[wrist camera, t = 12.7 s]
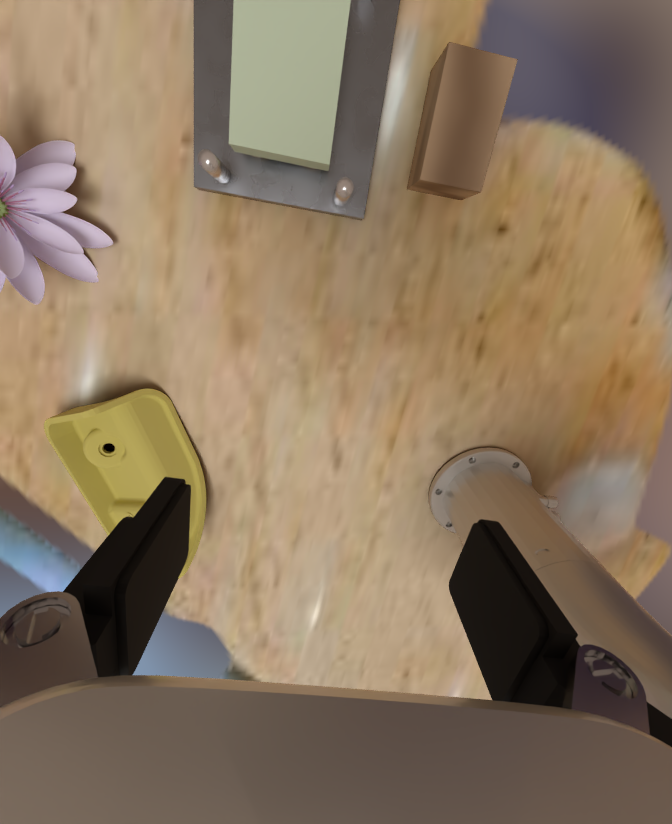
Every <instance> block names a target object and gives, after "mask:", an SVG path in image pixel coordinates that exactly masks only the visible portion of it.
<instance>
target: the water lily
mask: <svg viewBox="0 0 672 824" xmlns="http://www.w3.org/2000/svg"><path fill="white" fill-rule="evenodd" d="M74 146H75V145H74V144H73V143H72V142H69V141H62V140H55V141H49V142H45V143H42V144H40V145H37V146H35V147H34V148H32V149H30V150H29V151H27V152H26V153H24V154H22V155H21V156H20V157H18V158H17V159H15V155H14V153H13V150H12V149H11V147H10V145H9V144H8V142H7V141H6V140H5V139H4V138H3V137H2V136H0V292H1V290H2V288H3V286H4V282H5V278H6V277H7V279H8V280H9V282H10V283H11V284H12V286H13V287H14V288H15V289H16V290H17V291H18V292H19V293H20V294H21V295H22V296H23V297H24V298H26V299H27V300H28V301H30V302H31V303H33V304H36V305H37V304H39V303H40V302H41V301H42V299H43V296H44V291H45V284H44V278H43V274H42V271H41V269H40V267H39V264H38V262H37V260H36V258H35V257H34V255H35V256H36V257H37V258H39V259H40V260H42V261H43V262H45V263H47V264H48V265H50V266H51V267H53V268H55V269H56V270H58V271H60V272H62V273H63V274H65V275H68V276H70V277H72V278H75V279H78V280H81V281H85V282H98V281H99V280H98V278H97V275H98V273H97V271H96V269H95V267H94V266H93V264H92V263H91V262H90V260H89V259H88V258H87V257H86V256H85V255H84V254H83V253H84V251H83V249H82V247H84V248H104V247H108V246H111V245H112V244H113V241H112V239H111V238H110V237H109V236H108V235H107V234H106V233H105V232H103V231H102V230H101V229H99V228H98V227H96V226H94V225H92V224H91V223H89V222H87V221H84V220H82V219H80V218H77V217H74V216H71V215H68V214H65V213H62V212H63V211H66V210H68V209H70V208H71V207H72V206H73V205H74V204H75V203H76V201H77V198H76V197H75V196H74V195H72V194H70V193H67V192H64V191H65V190H66V189H67V188H68V187H69V186H70V185H71V184H72V183H73V181H74V179H75V177H76V173H77V170H76V168H75V167H74V166H73V164H74V161H75V157H76V153H75V151H74Z"/></svg>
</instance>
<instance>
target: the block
mask: <svg viewBox="0 0 672 824" xmlns="http://www.w3.org/2000/svg"><path fill="white" fill-rule="evenodd" d="M516 63H517V59H513V58H510V57H506V56H502V55H498V54H494V53H490V52H486V51H483V50H479V49H475V48H471V47H467V46H463V45H459V44H456V43H452V42H449V43H448V45H447V46H446V48H445V50H444V51H443V53H442V54H441V56H440V58H439V59H438V61H437V62H436V64H435V65H434V67H433V69H432V70H431V74H430V78H429V83H428V88H427V93H426V98H425V103H424V108H423V113H422V118H421V123H420V128H419V133H418V138H417V143H416V147H415V152H414V157H413V162H412V167H411V172H410V177H409V182H408V187H407V189H409V190H414V191H418V192H423V193H428V194H433V195H438V196H443V197H448V198H453V199H458V200H463V199H465V198H468V197H470V196H473V195H475V194H478V193H480V192H481V191H482V187H483V183H484V180H485V176H486V172H487V169H488V165H489V162H490V158H491V154H492V151H493V147H494V143H495V140H496V136H497V132H498V129H499V125H500V121H501V118H502V114H503V111H504V107H505V103H506V100H507V96H508V92H509V89H510V85H511V81H512V78H513V74H514V70H515V67H516Z"/></svg>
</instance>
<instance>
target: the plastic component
mask: <svg viewBox="0 0 672 824" xmlns="http://www.w3.org/2000/svg"><path fill="white" fill-rule="evenodd" d="M44 429H45V433H46V436H47V438H48V440H49V442H50V443H51V445H52V447H53V448H54V450H55V452H56V453H57V455H58V456H59V458H60V460H61V461H62V463H63V464H64V466H65V468H66V469H67V471H68V472H69V474H70V476H71V477H72V479H73V480H74V482H75V484H76V485H77V487H78V488H79V490H80V492H81V493H82V495H83V497H84V498H85V500H86V501H87V503H88V505H89V506H90V508H91V509H92V511H93V513H94V514H95V516H96V517H97V519H98V521H99V522H100V524H101V525H102V527H103V528H104V530H105V532H106V533H107V535H109V534H110V533H111V532H112V531H113V529H114V528H115V527H116V526H117V524H118V523H119V522H120V521H121V520H122V519H123V518H125V517H134V516H135V515H136V514H137V512H138V511H139V510H140V508H141V507H142V506H143V504H144V503H145V502H146V501H147V499H148V498H149V497H150V495H151V494H152V493H153V491H154V490H155V489H156V487H157V486H158V485H159V484H160V482H161V481H162V480H163V479H164V478H165V477H172V478H180V479H184V480H185V482H186V484H189V485H191V504H190V529H189V552H188V557H187V560H186V563H185V565H184V567H183V569H182V572H181V574H180V576H179V578H181V577H182V576H183V575H184V574H185V573H186V572H187V570H188V568H189V566H190V564H191V562H192V560H193V558H194V556H195V553H196V551H197V548H198V545H199V542H200V539H201V535H202V531H203V526H204V520H205V513H206V487H205V480H204V475H203V471H202V468H201V465H200V461H199V459H198V457H197V455H196V453H195V450H194V448H193V446H192V444H191V442H190V440H189V438H188V436H187V433H186V431H185V429H184V427H183V425H182V423H181V421H180V419H179V417H178V414H177V412H176V410H175V408H174V406H173V404H172V402H171V400H170V399H169V398H168V397H167V396H166V395H165V394H164V393H162V392H161V391H158V390H155V389H140V390H136V391H134V392H131V393H129V394H126V395H124V396H121V397H118V398H115V399H112V400H109V401H105V402H101V403H96V404H91V405H86V406H81V407H76V408H73V409H71V410H68V411H66V412H63V413H61V414H58V415H56V416H53V417H51V418H48V419H47V420H46V421H45V423H44ZM106 443H111V444H113V445H114V447H115V450H114V451H112V452H108V451H106V450H105V449H104V444H106ZM179 578H178V579H179Z"/></svg>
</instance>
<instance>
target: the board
mask: <svg viewBox="0 0 672 824" xmlns="http://www.w3.org/2000/svg"><path fill="white" fill-rule="evenodd" d="M350 3H351V0H234V4H233V33H232V62H231V91H230V121H229V145H230V146H231V147H232V149H233V150H234V152H238V153H243V154H248V155H252V156H257V157H262V158H267V159H272V160H277V161H281V162H286V163H291V164H296V165H301V166H305V167H310V168H315V169H320V170H325V171H329V165H330V158H331V150H332V142H333V134H334V127H335V119H336V111H337V103H338V96H339V88H340V80H341V72H342V65H343V57H344V49H345V41H346V34H347V26H348V18H349V10H350Z"/></svg>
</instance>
